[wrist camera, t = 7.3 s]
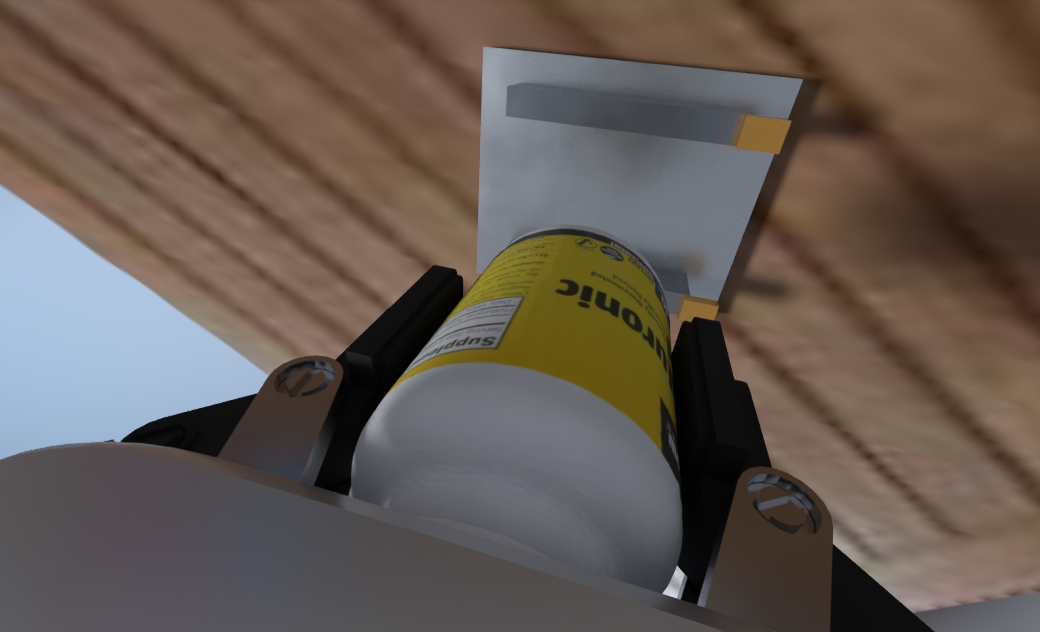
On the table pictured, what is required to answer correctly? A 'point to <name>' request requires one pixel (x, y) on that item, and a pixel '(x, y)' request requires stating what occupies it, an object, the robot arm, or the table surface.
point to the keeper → (629, 159)
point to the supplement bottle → (543, 412)
